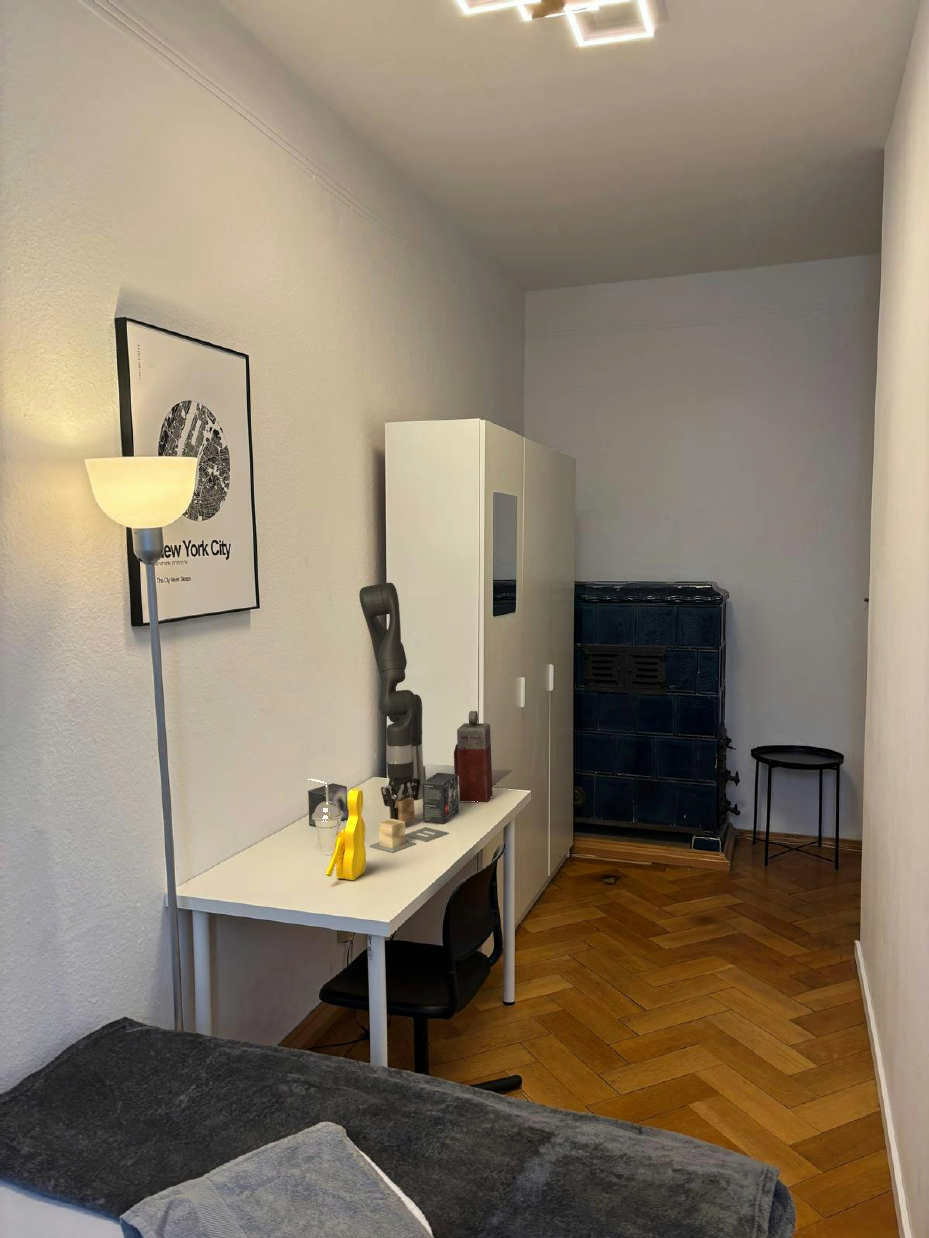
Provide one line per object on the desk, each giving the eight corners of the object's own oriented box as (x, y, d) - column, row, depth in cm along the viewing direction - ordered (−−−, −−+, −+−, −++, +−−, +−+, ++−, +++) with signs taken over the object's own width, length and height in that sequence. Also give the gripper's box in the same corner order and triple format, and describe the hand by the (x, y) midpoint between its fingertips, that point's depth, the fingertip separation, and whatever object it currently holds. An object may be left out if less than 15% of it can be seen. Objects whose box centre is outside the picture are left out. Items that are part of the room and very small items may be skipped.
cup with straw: (327, 859, 249) (323, 784, 247) (305, 853, 255) (301, 779, 253) (352, 851, 255) (348, 777, 253) (330, 844, 261) (326, 772, 259)
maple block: (392, 840, 262) (391, 818, 262) (405, 843, 259) (404, 821, 258) (379, 844, 258) (378, 823, 258) (392, 848, 255) (391, 826, 255)
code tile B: (393, 838, 265) (393, 836, 265) (416, 844, 259) (416, 842, 259) (369, 846, 258) (369, 845, 258) (392, 852, 252) (392, 851, 252)
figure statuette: (353, 863, 245) (349, 779, 243) (381, 866, 242) (377, 780, 241) (319, 887, 229) (315, 797, 227) (348, 890, 226) (344, 799, 224)
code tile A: (425, 828, 273) (425, 826, 273) (448, 833, 267) (448, 832, 267) (403, 836, 267) (403, 834, 267) (426, 841, 261) (426, 840, 261)
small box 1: (323, 829, 276) (322, 793, 275) (308, 825, 280) (306, 790, 279) (349, 819, 284) (347, 785, 284) (333, 816, 288) (332, 782, 288)
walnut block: (402, 815, 279) (401, 795, 279) (414, 818, 276) (413, 798, 275) (389, 820, 275) (389, 799, 275) (402, 822, 272) (401, 802, 271)
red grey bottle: (458, 794, 309) (455, 708, 306) (492, 794, 306) (489, 708, 304) (452, 801, 300) (448, 713, 298) (487, 802, 297) (484, 713, 295)
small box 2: (444, 824, 276) (443, 784, 275) (422, 823, 278) (421, 782, 277) (459, 812, 289) (458, 772, 288) (438, 810, 291) (436, 772, 290)
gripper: (408, 753, 282) (410, 810, 283) (372, 762, 271) (374, 821, 273) (426, 756, 277) (428, 814, 278) (390, 766, 266) (393, 826, 268)
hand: (402, 817), depth 275 cm, fingers closed on walnut block, 5 cm apart
